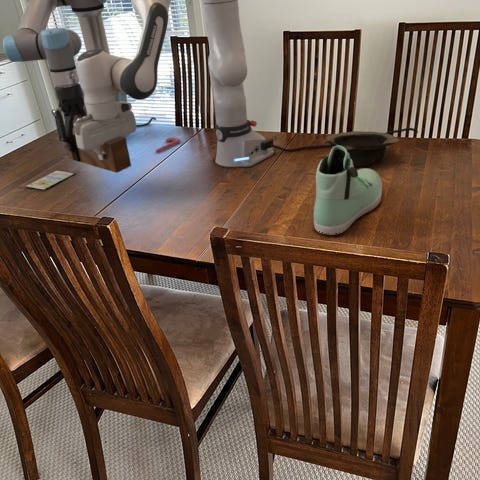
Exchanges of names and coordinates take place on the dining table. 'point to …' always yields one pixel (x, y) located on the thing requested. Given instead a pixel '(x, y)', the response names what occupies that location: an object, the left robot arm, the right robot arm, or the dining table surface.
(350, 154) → the dark brown hat
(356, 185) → the sneaker
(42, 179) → the baking ingredient package
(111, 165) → the bar
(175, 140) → the candy cane
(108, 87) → the right robot arm
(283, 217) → the dining table surface
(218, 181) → the dining table surface
